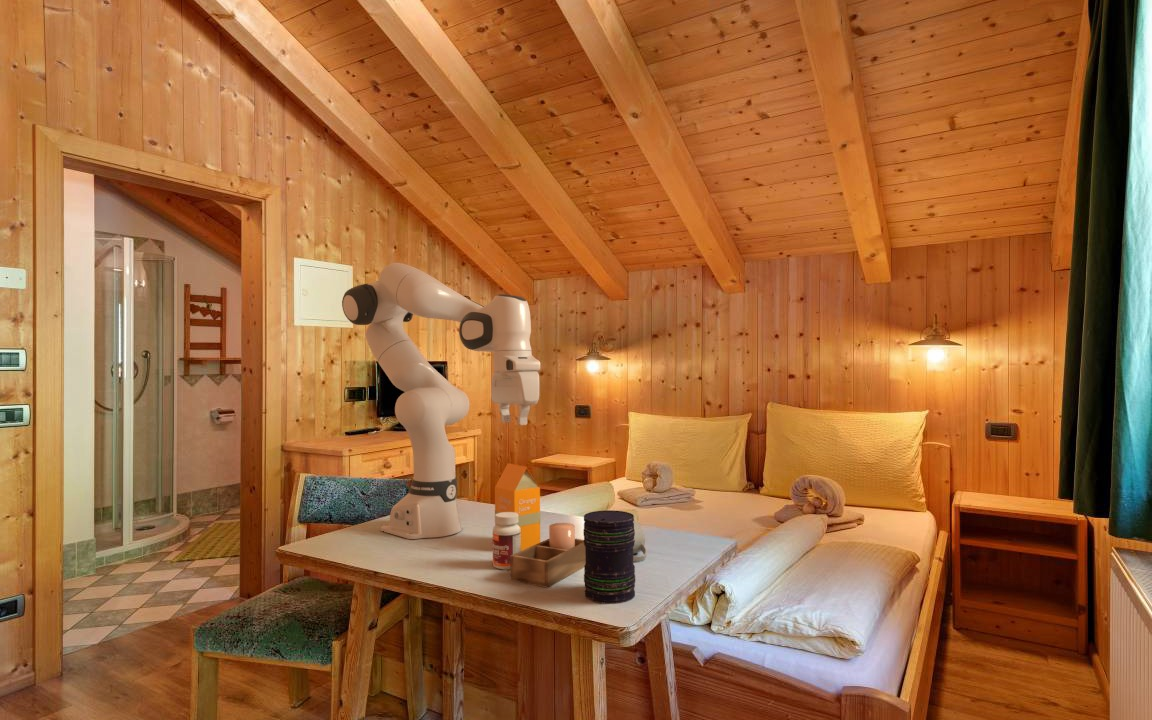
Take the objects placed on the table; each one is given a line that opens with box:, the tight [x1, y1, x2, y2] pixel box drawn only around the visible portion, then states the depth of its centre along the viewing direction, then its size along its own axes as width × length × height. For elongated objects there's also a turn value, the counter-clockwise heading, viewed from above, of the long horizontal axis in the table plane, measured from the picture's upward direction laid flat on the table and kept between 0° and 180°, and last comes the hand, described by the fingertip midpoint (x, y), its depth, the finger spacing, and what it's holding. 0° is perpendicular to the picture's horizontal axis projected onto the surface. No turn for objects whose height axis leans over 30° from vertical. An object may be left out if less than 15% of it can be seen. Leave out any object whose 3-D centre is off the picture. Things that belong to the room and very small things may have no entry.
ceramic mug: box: [633, 519, 648, 563], centre depth 143 cm, size 11×8×8 cm
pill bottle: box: [492, 512, 521, 570], centre depth 137 cm, size 6×6×11 cm
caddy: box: [509, 538, 586, 588], centre depth 133 cm, size 9×18×5 cm, turn 150°
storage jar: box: [583, 509, 636, 605], centre depth 119 cm, size 10×10×15 cm
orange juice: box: [494, 462, 541, 551], centre depth 153 cm, size 8×9×20 cm
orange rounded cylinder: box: [548, 522, 576, 550], centre depth 137 cm, size 6×6×8 cm
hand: (514, 423), depth 143 cm, fingers open, 8 cm apart
